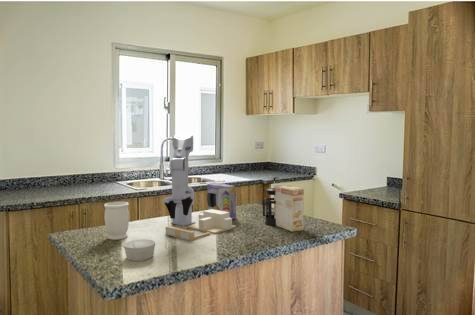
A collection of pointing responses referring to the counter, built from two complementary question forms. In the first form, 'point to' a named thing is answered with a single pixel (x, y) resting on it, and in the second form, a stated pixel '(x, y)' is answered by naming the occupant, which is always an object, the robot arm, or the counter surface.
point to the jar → (116, 219)
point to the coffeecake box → (289, 207)
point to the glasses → (183, 233)
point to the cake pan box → (222, 198)
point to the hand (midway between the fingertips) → (179, 216)
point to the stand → (213, 221)
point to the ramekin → (139, 249)
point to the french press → (269, 206)
